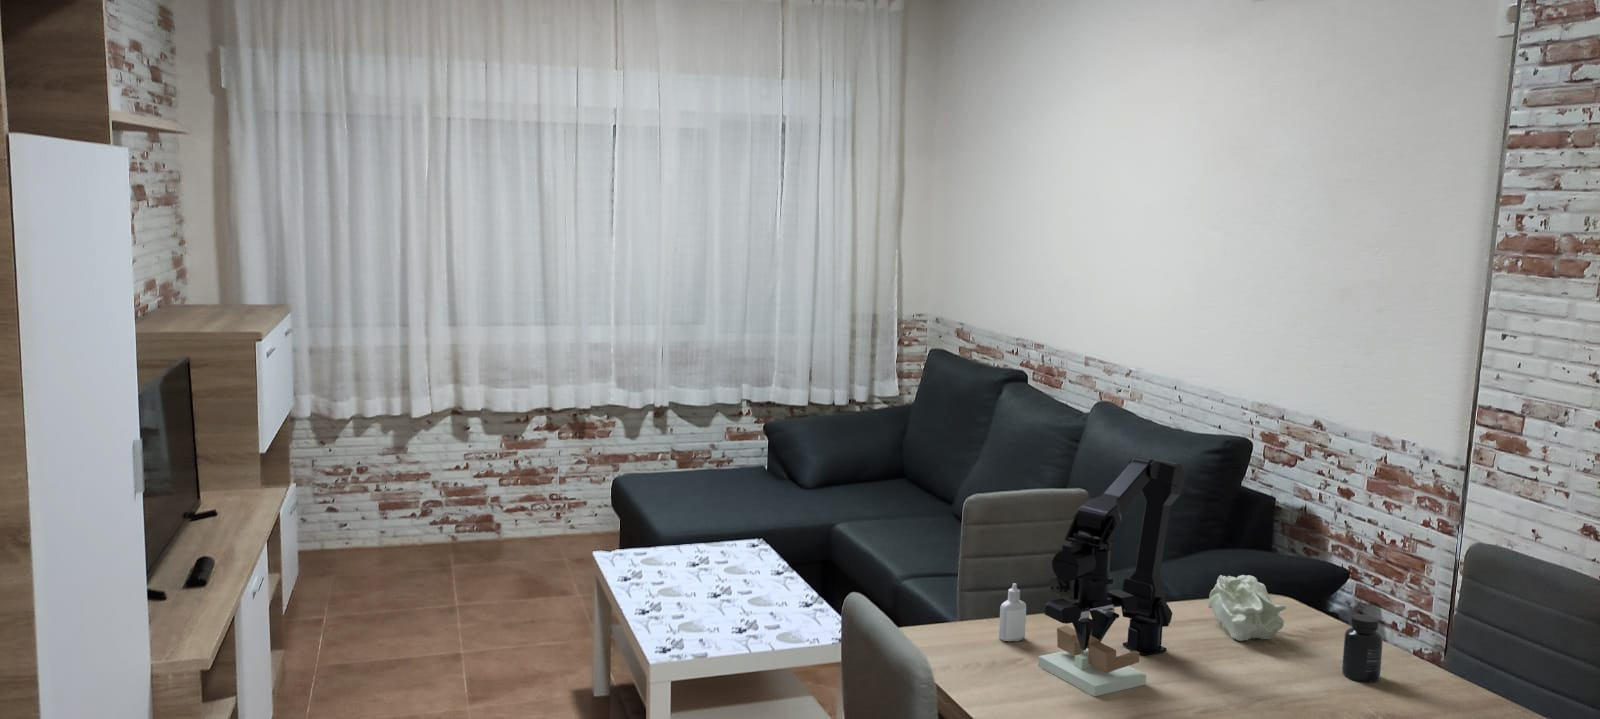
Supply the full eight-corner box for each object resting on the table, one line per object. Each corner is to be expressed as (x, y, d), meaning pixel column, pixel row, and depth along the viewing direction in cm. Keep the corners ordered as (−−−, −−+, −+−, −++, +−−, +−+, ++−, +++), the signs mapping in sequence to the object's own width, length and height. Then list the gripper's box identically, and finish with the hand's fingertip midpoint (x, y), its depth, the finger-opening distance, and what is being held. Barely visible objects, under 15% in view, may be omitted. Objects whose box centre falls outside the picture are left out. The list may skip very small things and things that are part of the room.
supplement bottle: (1377, 672, 231) (1382, 615, 230) (1381, 685, 225) (1387, 626, 223) (1339, 667, 234) (1344, 610, 232) (1343, 680, 227) (1348, 621, 226)
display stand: (1088, 655, 236) (1089, 635, 236) (1145, 684, 222) (1147, 663, 222) (1038, 665, 230) (1039, 645, 230) (1094, 696, 216) (1095, 674, 216)
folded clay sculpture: (1263, 669, 249) (1301, 618, 242) (1209, 655, 247) (1246, 603, 239) (1235, 610, 265) (1270, 560, 257) (1184, 597, 262) (1218, 546, 255)
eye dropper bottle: (1026, 643, 242) (1029, 587, 241) (999, 642, 242) (1002, 586, 241) (1023, 635, 247) (1026, 581, 245) (996, 634, 247) (999, 580, 245)
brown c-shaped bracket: (1089, 636, 236) (1089, 616, 235) (1139, 662, 224) (1139, 640, 223) (1057, 646, 232) (1057, 626, 231) (1106, 673, 220) (1106, 651, 219)
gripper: (1101, 553, 235) (1096, 627, 237) (1028, 564, 226) (1024, 641, 228) (1141, 569, 225) (1136, 646, 227) (1067, 581, 216) (1062, 661, 218)
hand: (1088, 648), depth 225 cm, fingers closed on brown c-shaped bracket, 2 cm apart
